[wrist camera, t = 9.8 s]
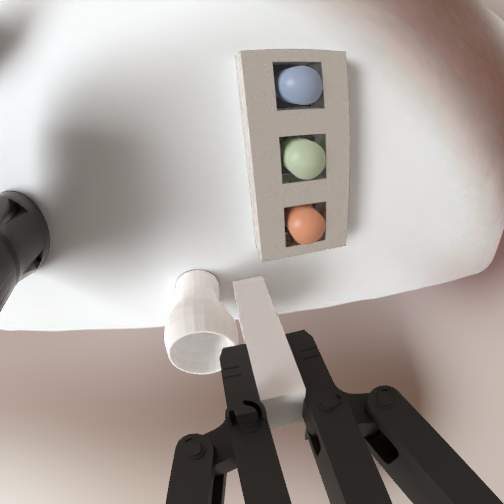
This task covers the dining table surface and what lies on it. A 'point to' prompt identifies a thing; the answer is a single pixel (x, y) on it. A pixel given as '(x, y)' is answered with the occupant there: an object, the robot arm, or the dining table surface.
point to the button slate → (298, 85)
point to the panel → (292, 124)
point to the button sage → (302, 157)
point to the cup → (198, 325)
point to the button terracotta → (304, 223)
